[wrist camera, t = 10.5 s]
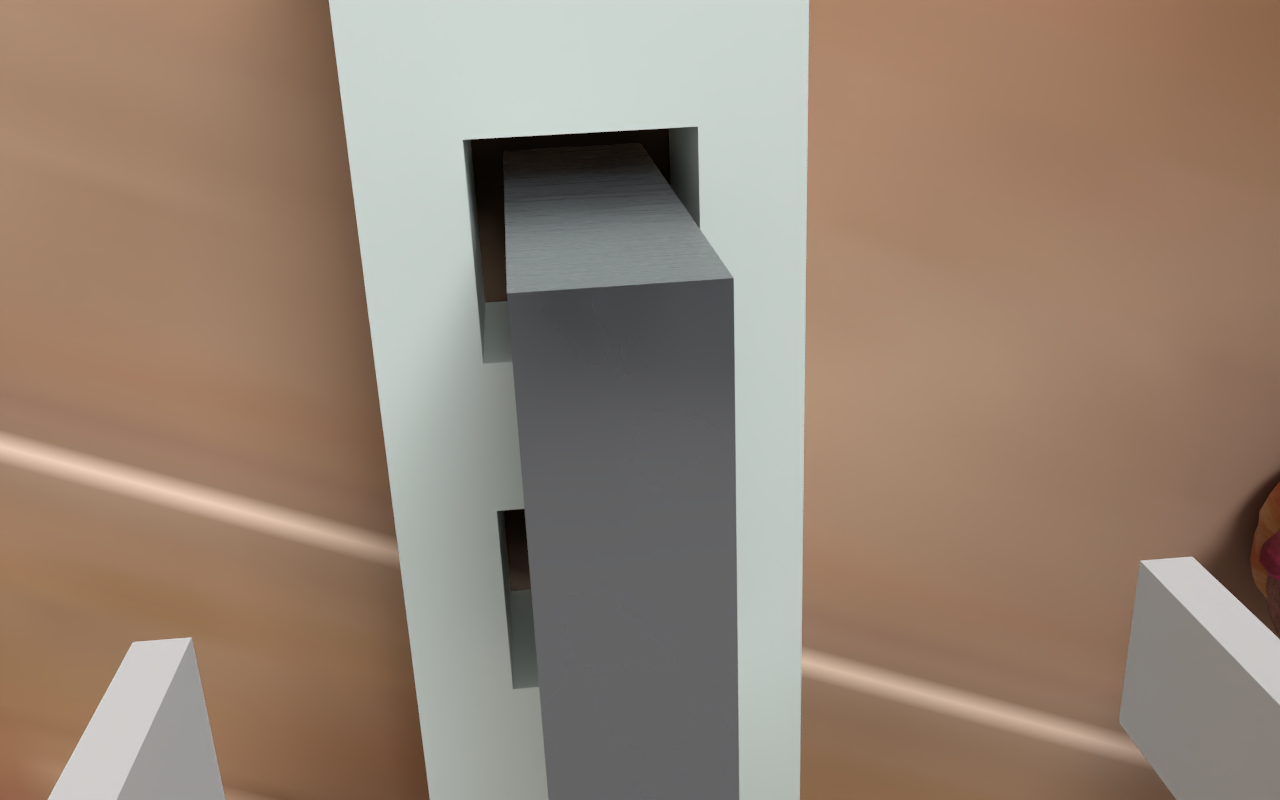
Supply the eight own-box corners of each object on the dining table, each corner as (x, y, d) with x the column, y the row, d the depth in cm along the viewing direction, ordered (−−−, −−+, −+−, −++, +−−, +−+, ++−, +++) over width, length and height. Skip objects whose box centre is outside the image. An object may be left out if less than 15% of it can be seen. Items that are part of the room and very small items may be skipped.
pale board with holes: (331, -217, 25) (297, -248, 21) (760, -230, 26) (811, -263, 21) (451, 803, 34) (445, 923, 30) (762, 770, 35) (798, 883, 31)
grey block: (503, 150, 28) (506, 293, 17) (640, 142, 28) (734, 278, 17) (535, 555, 32) (555, 890, 21) (655, 544, 32) (740, 869, 21)
